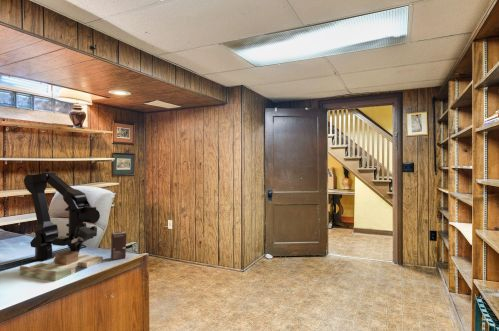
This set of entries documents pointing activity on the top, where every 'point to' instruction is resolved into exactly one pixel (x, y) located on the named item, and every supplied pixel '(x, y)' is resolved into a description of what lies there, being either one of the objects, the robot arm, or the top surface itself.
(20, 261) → the top surface
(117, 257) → the box
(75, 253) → the block
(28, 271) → the trap board
